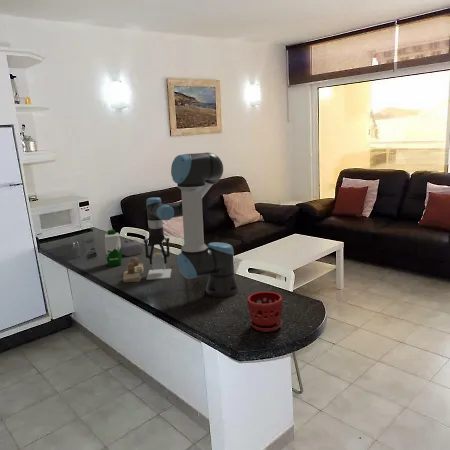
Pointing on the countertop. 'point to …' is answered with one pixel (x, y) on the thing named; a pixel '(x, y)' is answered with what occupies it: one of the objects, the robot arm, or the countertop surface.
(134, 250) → the small grey backpack
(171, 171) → the robot arm
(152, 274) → the mat
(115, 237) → the milk carton
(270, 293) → the plant pot
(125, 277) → the plane body
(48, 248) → the countertop surface
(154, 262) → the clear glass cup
